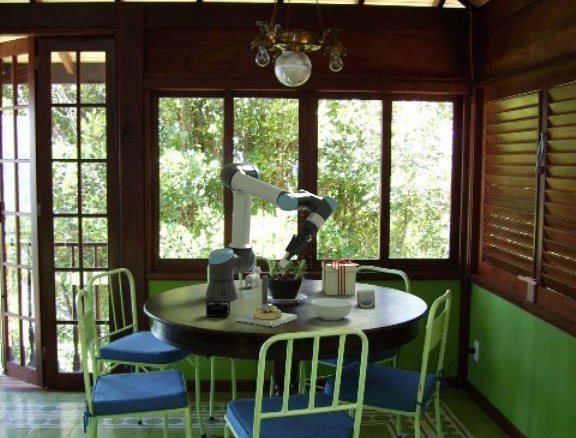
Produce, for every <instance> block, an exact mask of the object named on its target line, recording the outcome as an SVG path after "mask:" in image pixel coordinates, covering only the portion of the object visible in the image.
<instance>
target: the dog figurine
mask: <svg viewBox="0 0 576 438" xmlns="http://www.w3.org/2000/svg"><path fill="white" fill-rule="evenodd" d="M261 273H262V270H261V266H257V265H255V266H254V267H253V268H252V269H251V273H249V274H248V275H246V277H245V279H244V283H245V284H244V288H245V289H248V285H250V287H251V290H254V289H255V287H254V286H255V284H254V283H256V287H257V288H260V287H261V286H260V280H261V275H260V274H261Z"/></svg>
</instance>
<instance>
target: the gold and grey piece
mask: <svg viewBox="0 0 576 438" xmlns="http://www.w3.org/2000/svg"><path fill="white" fill-rule="evenodd" d="M268 286H269V285H268V275H261V305H262V304H265V303H268V300H269V298H268V296H269V295H268V290H269V288H268ZM253 312H254V317H255V318H260V319H275V318H279V317H281V313H282V311H281V309H278V307H277V306H275V305H273V310H272V313H264V310H262V306H257V307H255V309H254V310H253Z"/></svg>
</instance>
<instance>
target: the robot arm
mask: <svg viewBox="0 0 576 438" xmlns="http://www.w3.org/2000/svg"><path fill="white" fill-rule="evenodd" d="M261 178H262V177H261V173H260V170H259V168H258V167H257V166H256V165H255V164H253V163H249V162H236V163H234V162H231V163H227V164H225V165H223V167H222V168H221V170H220V172H219V179H220V182H221V183H222V185H224V186H225V187H227V188H229V189H231V192H232V193H233V194H234V195H233V210H232V211H233V215H232V232H231V233H232V234H231V242H230V243H229V244H228V247H227V248H225V247H224V248H223V247H222V248H217V249H214V250H211V251H210V252H209V255H208V285H207V289H206V292H205V299H206V301H230V302H231V301H234V300H237V299H238V292H237V289H236V286H235V283H234V280H235V279H234V275H236V274H237V275H238V274H245V273H247V272H250V271H252V270H253V267H254V266H256V263H257V255H256V253H255V251H254V249H253V245H252V244H251V243H250V237H251V236H250V235H251V217H252V216H251V215H252V201H253V197H256V198H259V199H261V200H264V201H266V202H269V203H270V204H273V205H276V206H277V207H278V208H279V209H280V210H282V211H284V212H292V211H300V210H302V211H304V210H307V211H308V212H311V213H309V216H308V217H307V218H306V220H304V222H303V223H302V224H301V225H300V230H299V232H298V233H293V234H292V238H291V239H290V240H289V242H288V244H287V246H286V248H285V249H284V251H285V252H286V253H285V254H284V255H283V256H282V258H281V259H280V260H279V262H278V265H279V266H280V267H281V268H283V269H284V268H285V267H286V266H287V264H288V263H289V262H290V260H291V259H292V258H293V257H295V256H296V257H297V256H299V254H301V252H302V251H304V250H305V248H306V247H307V246H308V245H310V243H312V242H313V241H314V239H313V238H314V237H316V236H317V234H318V233H319V231H320V230H321V229H322V227H323V226H324V225H325V224H326V222H327V221H328V220H329V218H330V217H331V216H332V214H333V213H334V212H335V210H336V209H337V208H338V202H337V200H336V199H335V198H334V197H333V196H331V195H329V194H327V195H324V196H323V197H320V196H317V195H315V194H314V193H311V192H310V191H307V190H304V189H299V190H298V191H296V192H295V193H293V192H290V191H288V190H286V189H283V188H280V187H279V186H275V185H273V184H271V183H268V182H265V181H264V180H263V181H262V180H261ZM312 237H313V238H312Z"/></svg>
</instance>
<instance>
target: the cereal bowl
mask: <svg viewBox="0 0 576 438" xmlns="http://www.w3.org/2000/svg"><path fill="white" fill-rule="evenodd" d="M310 304H311V311H312V312H313V313H314V315H316V316H317V317H320V318H321V319H323V320H325V321H338V320H341V319H342V318H345V317H347V316H349V315H350V313H351V311H352V306H353V302H352V301H350V300H348V299H345V298H338V297H337V298H336V297H335V298H334V297H323V298H316V299H312V301H311V303H310Z"/></svg>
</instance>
